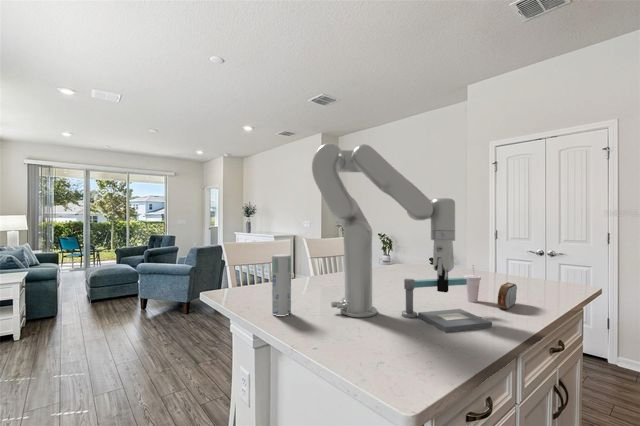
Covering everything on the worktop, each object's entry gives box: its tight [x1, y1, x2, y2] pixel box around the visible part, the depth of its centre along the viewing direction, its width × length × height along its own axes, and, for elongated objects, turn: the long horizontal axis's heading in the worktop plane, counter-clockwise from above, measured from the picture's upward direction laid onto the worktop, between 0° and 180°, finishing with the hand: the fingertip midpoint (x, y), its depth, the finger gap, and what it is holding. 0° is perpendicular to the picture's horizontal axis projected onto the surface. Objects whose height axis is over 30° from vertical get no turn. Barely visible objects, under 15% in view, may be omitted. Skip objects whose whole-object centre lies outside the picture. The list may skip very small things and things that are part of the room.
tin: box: [497, 282, 518, 310], centre depth 114 cm, size 15×3×8 cm, turn 134°
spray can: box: [271, 253, 292, 315], centre depth 107 cm, size 6×6×20 cm
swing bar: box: [403, 277, 467, 291], centre depth 106 cm, size 23×3×3 cm, turn 102°
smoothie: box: [462, 264, 482, 303], centre depth 122 cm, size 6×6×14 cm
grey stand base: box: [401, 289, 493, 333], centre depth 100 cm, size 20×18×9 cm
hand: (442, 291), depth 103 cm, fingers closed
